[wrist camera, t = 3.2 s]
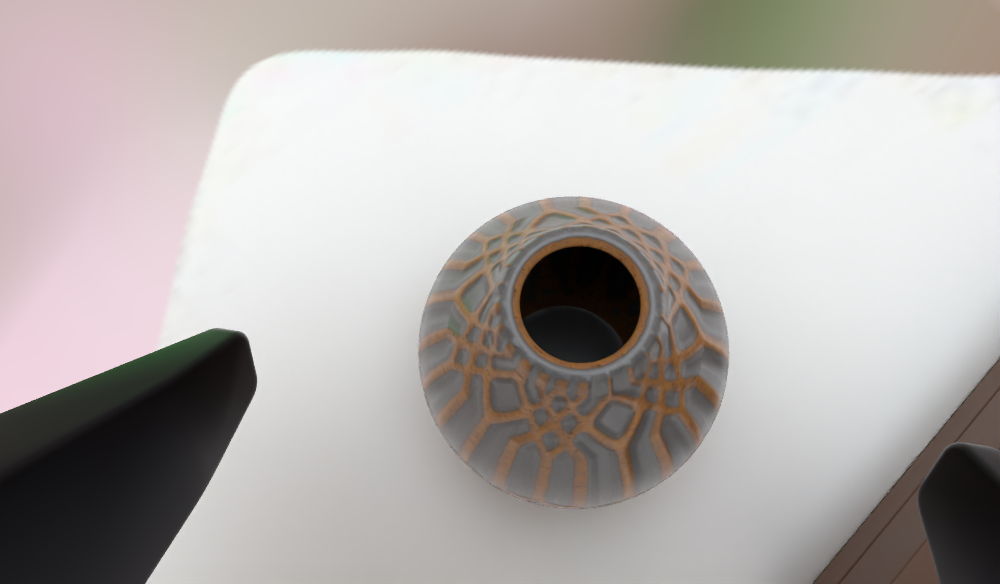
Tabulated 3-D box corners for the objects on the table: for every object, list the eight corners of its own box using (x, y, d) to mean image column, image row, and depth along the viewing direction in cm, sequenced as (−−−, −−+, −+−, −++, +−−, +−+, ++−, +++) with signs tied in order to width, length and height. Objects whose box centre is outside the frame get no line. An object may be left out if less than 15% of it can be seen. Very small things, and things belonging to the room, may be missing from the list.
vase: (403, 379, 17) (258, 324, 8) (550, 216, 18) (553, 19, 9) (578, 545, 15) (616, 682, 7) (729, 357, 16) (929, 275, 8)
